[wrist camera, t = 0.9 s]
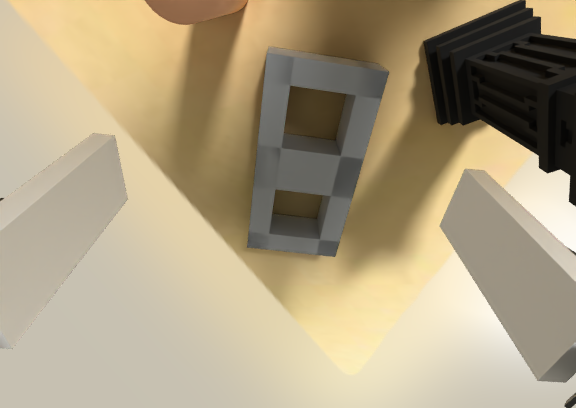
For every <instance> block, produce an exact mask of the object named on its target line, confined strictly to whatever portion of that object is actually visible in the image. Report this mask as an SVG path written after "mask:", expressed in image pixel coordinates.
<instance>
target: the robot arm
mask: <svg viewBox="0 0 576 408" xmlns="http://www.w3.org/2000/svg"><path fill="white" fill-rule="evenodd" d="M126 201H127V193H126V188H125V183H124V179H123V173H122V169H121V164H120V159H119V154H118V149H117V144H116V139H115V135H106V134H95V133H93V134H92V135H90V136H89V137H88V138H86V139H85V140H83V141H82V142H81V143H79V144H78V145H77V146H75V147H74V148H72V149H71V150H70V151H68V152H67V153H66V154H64V155H63V156H62V157H60V158H59V159H57V160H56V161H55V162H53V163H52V164H51V165H49V166H48V167H47V168H45V169H44V170H42V171H41V172H40V173H38V174H37V175H36V176H34V177H33V178H32V179H30V180H29V181H28V182H26V183H25V184H23V185H22V186H21V187H19V188H18V189H17V190H15V191H14V192H12V193H11V194H10V195H8V196H7V197H6V198H0V348H6V349H13V347H14V346H15V345H16V343H17V342H18V341H19V340H20V338H21V337H22V336H23V334H24V333H25V332H26V330H27V329H28V328H29V327H30V325H31V324H32V323H33V321H34V320H35V319H36V317H37V316H38V315H39V313H40V312H41V311H42V310H43V308H44V307H45V306H46V304H47V303H48V302H49V301H50V299H51V298H52V297H53V295H54V294H55V293H56V292H57V290H58V289H59V288H60V286H61V285H62V284H63V282H64V281H65V280H66V279H67V277H68V276H69V275H70V273H71V272H72V271H73V269H74V268H75V267H76V266H77V264H78V263H79V262H80V260H81V259H82V258H83V256H84V255H85V254H86V253H87V251H88V250H89V249H90V247H91V246H92V245H93V244H94V242H95V241H96V239H97V238H98V237H99V236H100V234H101V233H102V232H103V230H104V229H105V228H106V227H107V225H108V224H109V223H110V221H111V220H112V219H113V218H114V216H115V215H116V213H117V212H118V211H119V210H120V208H121V207H122V206H123V204H124V203H125V202H126ZM440 227H441V229H442V231H443V232H444V234H445V235H446V237H447V239H448V240H449V242H450V243H451V245H452V246H453V248H454V250H455V251H456V253H457V254H458V256H459V257H460V259H461V260H462V262H463V264H464V265H465V267H466V268H467V270H468V272H469V273H470V275H471V276H472V278H473V280H474V281H475V283H476V284H477V286H478V287H479V289H480V291H481V292H482V294H483V295H484V297H485V298H486V300H487V302H488V303H489V305H490V306H491V308H492V309H493V311H494V313H495V314H496V316H497V317H498V319H499V321H500V322H501V324H502V325H503V327H504V328H505V330H506V332H507V333H508V335H509V336H510V338H511V339H512V341H513V342H514V344H515V346H516V347H517V349H518V351H519V352H520V354H521V355H522V357H523V358H524V360H525V362H526V363H527V365H528V366H529V368H530V369H531V371H532V373H533V374H534V376H535V377H536V379H537V381H550V382H567V381H568V380H569V379H570V378H571V377H572V376H573V375H574V374H575V373H576V253H575V252H574V251H572V250H570V249H569V248H567V247H566V246H565V245H564V244H563V243H562V242H560V241H559V240H558V239H557V238H556V237H555V236H554V235H553V234H552V233H551V232H550V231H549V230H547V229H546V228H545V227H544V226H543V225H542V224H541V223H540V222H539V221H538V220H537V219H536V218H535V217H534V216H533V215H531V214H530V213H529V212H528V211H527V210H526V209H525V208H524V207H523V206H522V205H521V204H520V203H519V202H518V201H516V200H515V199H514V198H513V197H512V196H511V195H510V194H509V193H508V192H507V191H506V190H505V189H504V188H502V187H501V186H500V185H499V184H498V183H497V182H496V181H495V180H494V179H493V178H492V177H491V176H490V175H489V174H487V173H486V172H485V171H484V170H473V169H465V170H464V172H463V174H462V177H461V179H460V181H459V183H458V185H457V188H456V190H455V192H454V194H453V197H452V199H451V201H450V203H449V206H448V208H447V210H446V212H445V214H444V217H443V219H442V221H441V223H440ZM575 404H576V393H575V394H574V395H573V396H571V397H570V398H569V399H568V400H567V401H566V403H565V407H566V408H571V407H572V406H574V405H575Z"/></svg>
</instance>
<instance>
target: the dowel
mask: <svg viewBox="0 0 576 408" xmlns="http://www.w3.org/2000/svg"><path fill="white" fill-rule="evenodd" d="M145 1H146V3H147V4H148V5H149V6H150V7H151V9H152V10H153V11H154V12H156V13H157V14H158V15H159V16H161V17H162V18H164V19H166V20H168V21H170V22H173V23H176V24H182V25H189V24H194V23H198V22H202V21H206V20H209V19H213V18H216V17H220V16H224V15H227V14H231V13H234V12H237V11H239V10H240V9H242V8H243V7H244V5H245V4H246V3H247V1H248V0H145Z"/></svg>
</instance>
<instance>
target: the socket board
mask: <svg viewBox="0 0 576 408" xmlns="http://www.w3.org/2000/svg"><path fill="white" fill-rule="evenodd" d="M388 75H389V71H387V70H386V69H384V68H383V67H382V66H380V65H379V64H377V63H371V62H364V61H358V60H352V59H345V58H339V57H333V56H327V55H320V54H314V53H308V52H301V51H295V50H289V49H283V48H276V47H270V46H269V48H268V51H267V57H266V67H265V76H264V86H263V96H262V106H261V116H260V126H259V136H258V146H257V155H256V165H255V175H254V185H253V195H252V205H251V215H250V224H249V234H248V244H247V247H248V248H258V249H267V250H276V251H286V252H295V253H304V254H313V255H323V256H332V257H335V256H336V252H337V249H338V245H339V242H340V239H341V235H342V232H343V228H344V225H345V221H346V218H347V215H348V211H349V208H350V204H351V201H352V198H353V194H354V191H355V187H356V184H357V180H358V177H359V174H360V170H361V167H362V163H363V160H364V157H365V153H366V150H367V146H368V143H369V139H370V136H371V133H372V129H373V126H374V122H375V119H376V116H377V112H378V109H379V105H380V102H381V99H382V95H383V92H384V88H385V85H386V81H387V78H388ZM290 86H297V87H303V88H310V89H317V90H323V91H330V92H337V93H343V94H346V97H345V101H344V106H343V110H342V114H341V118H340V123H339V127H338V131H337V135H336V140H329V139H322V138H314V137H307V136H300V135H293V134H285V133H284V127H285V120H286V113H287V106H288V99H289V92H290ZM275 189H276V190H285V191H293V192H301V193H309V194H317V195H322V199H321V204H320V208H319V212H318V217H317V219H315V218H306V217H298V216H289V215H281V214H272V210H273V203H274V196H275Z"/></svg>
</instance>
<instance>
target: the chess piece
mask: <svg viewBox="0 0 576 408" xmlns="http://www.w3.org/2000/svg"><path fill="white" fill-rule="evenodd" d="M424 47H425V53H426V58H427V64H428V70H429V75H430V81H431V87H432V93H433V98H434V104H435V110H436V115H437V121H438V123H439V124H440V125H443V124H445V123H449V124H450V125H454V124H456V123H460V124H462V125H466V124H469V123H471V122H474V121H477V120H480V119H481V120H482V121H484V122H486V123H487V124H489V125H490V126H492V127H494V128H495V129H497V130H498V131H500V132H502V133H503V134H505V135H506V136H508V137H510V138H511V139H513V140H514V141H516V142H518V143H519V144H521V145H522V146H524V147H526V148H527V149H529V150H530V151H532V152H534V153H535V154H537V155H539V168H540V169H542V170H543V171H545V172H546V173H550V172H554V171H557V170H560V169H561V170H563V171H564V172H566V173H567V174H569V175H570V193H569V202H570V203H572V204H573V205H575V206H576V39H571V38H564V37H557V36H550V35H543V34H541V17H535V16H534V17H533V8H526V0H519V1H517V2H514V3H512V4H510V5H507V6H505V7H502V8H500V9H498V10H495V11H493V12H491V13H488V14H486V15H484V16H481V17H479V18H477V19H474V20H472V21H470V22H467V23H465V24H463V25H460V26H458V27H456V28H453V29H451V30H449V31H446V32H444V33H441V34H439V35H437V36H434V37H432V38H430V39H427V40H425V41H424Z"/></svg>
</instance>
